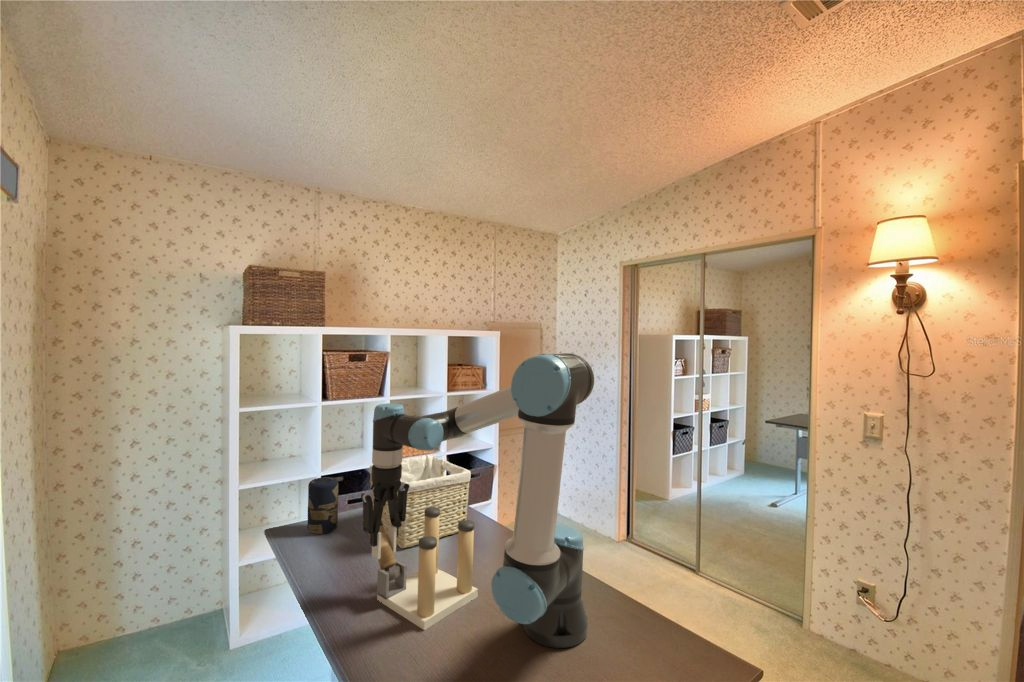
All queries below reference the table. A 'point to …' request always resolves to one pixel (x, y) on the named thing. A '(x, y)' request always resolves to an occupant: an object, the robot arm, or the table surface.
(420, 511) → the basket
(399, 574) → the hinged leg
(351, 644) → the table surface
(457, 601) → the stool seat
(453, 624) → the table surface
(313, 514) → the canister
